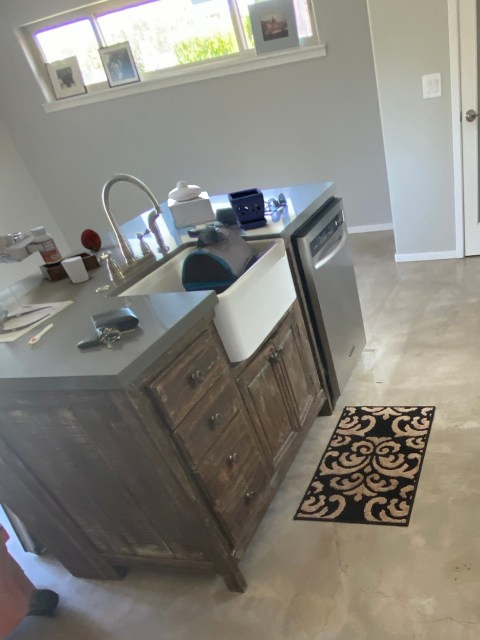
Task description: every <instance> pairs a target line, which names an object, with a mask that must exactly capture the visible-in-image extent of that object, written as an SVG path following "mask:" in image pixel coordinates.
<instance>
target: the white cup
mask: <svg viewBox="0 0 480 640" xmlns="http://www.w3.org/2000/svg"><path fill="white" fill-rule="evenodd" d="M61 264H62V265H63V267H64V268H65V270H66V272H67V273H68V275H69V279H70V280H71V281H72V282H73V284H79V283H83V282H86V281H88V280H89V279H90V277H89V275H88V272H87V271H88V270H87V271H86V269H85V266H84V264H83V261H82V259H81V257H71V258H68V259H65V260H63V261H61Z"/></svg>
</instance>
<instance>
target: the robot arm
mask: <svg viewBox="0 0 480 640" xmlns="http://www.w3.org/2000/svg"><path fill="white" fill-rule="evenodd" d="M33 237H34V235H33V234H32V233H31V232H27V233H21V232H16V233H10V234H3V235H0V264H14V263H21V262H23V260H25V259H27V258H29V257H30V256H31V255H34V254H35V253H37V252H39V251H41V250H44V249H45V247H44V245H43V244H37V245H35V243H34V241H33Z"/></svg>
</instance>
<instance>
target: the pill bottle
mask: <svg viewBox="0 0 480 640" xmlns="http://www.w3.org/2000/svg"><path fill="white" fill-rule="evenodd" d="M30 233H32V234H33V235H34V237H33V241H34V243H35V245H37V244H43V245H44V247H45V249H44V250H41V251H38V252H39V255H40V256H41V258H42V260H43V262H44V264H53V263H57V262H60V261H61V260H62V259H63V256H62V255H61V253H60V250H59V248H58V247H57V244H56V243H55V241H54V238H53V237H52V235H51V234H50V233H48V232H47V229H46V227H45V226H36V227H34V228H31V229H30Z"/></svg>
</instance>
